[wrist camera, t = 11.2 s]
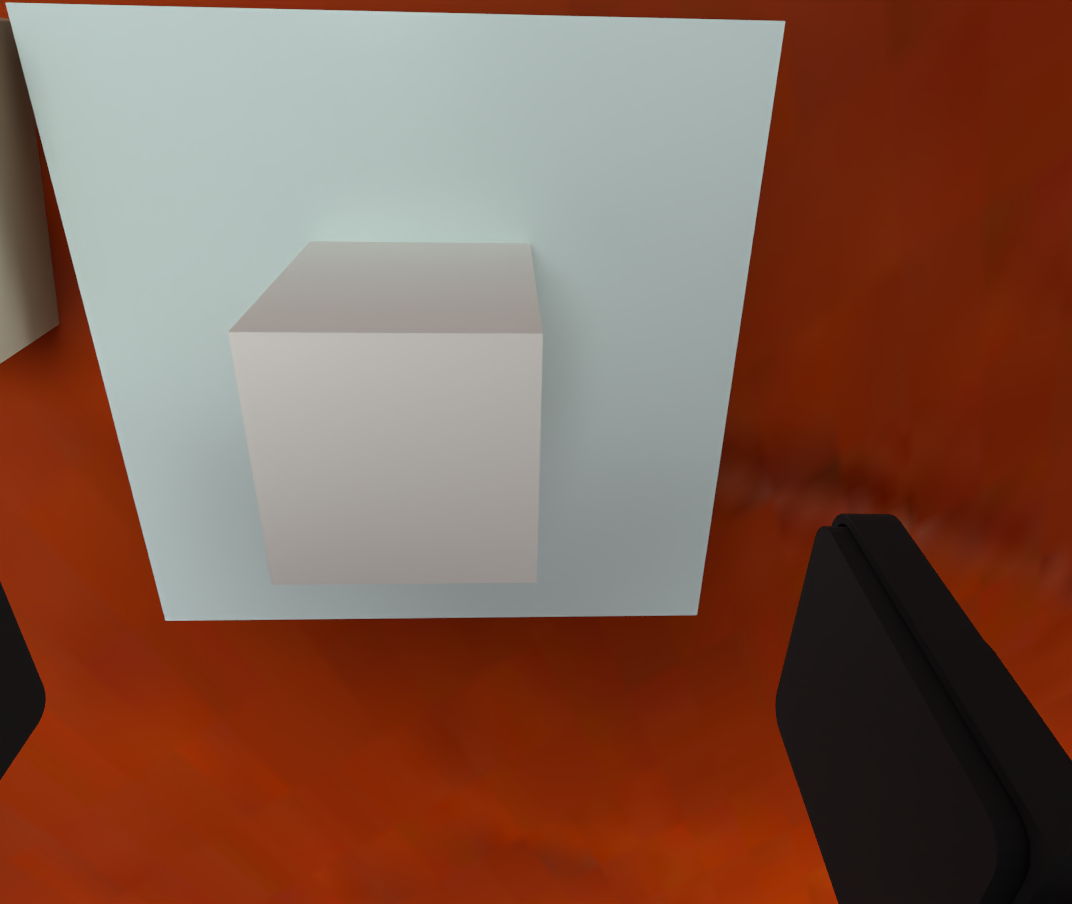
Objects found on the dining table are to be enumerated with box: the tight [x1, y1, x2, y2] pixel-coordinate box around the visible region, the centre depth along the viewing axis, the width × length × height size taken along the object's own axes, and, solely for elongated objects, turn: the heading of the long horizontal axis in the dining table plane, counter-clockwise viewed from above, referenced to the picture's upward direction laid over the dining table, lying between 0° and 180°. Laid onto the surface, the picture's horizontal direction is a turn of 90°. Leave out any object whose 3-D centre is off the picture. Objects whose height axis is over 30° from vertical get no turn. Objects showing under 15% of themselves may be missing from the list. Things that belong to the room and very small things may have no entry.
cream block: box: [228, 241, 543, 585], centre depth 15 cm, size 4×4×6 cm
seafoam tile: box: [6, 3, 785, 621], centre depth 18 cm, size 14×14×1 cm
